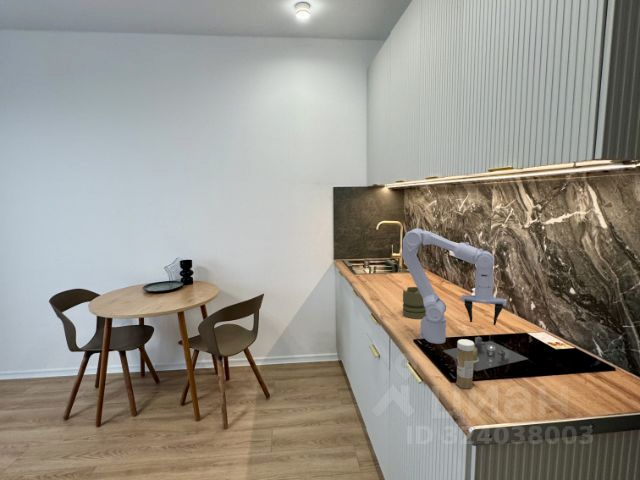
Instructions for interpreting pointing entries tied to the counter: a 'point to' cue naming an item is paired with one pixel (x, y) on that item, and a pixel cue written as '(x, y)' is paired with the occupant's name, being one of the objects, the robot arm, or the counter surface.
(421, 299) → the piston
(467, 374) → the sprinkles bottle
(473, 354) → the cap
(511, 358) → the base
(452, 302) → the counter surface
